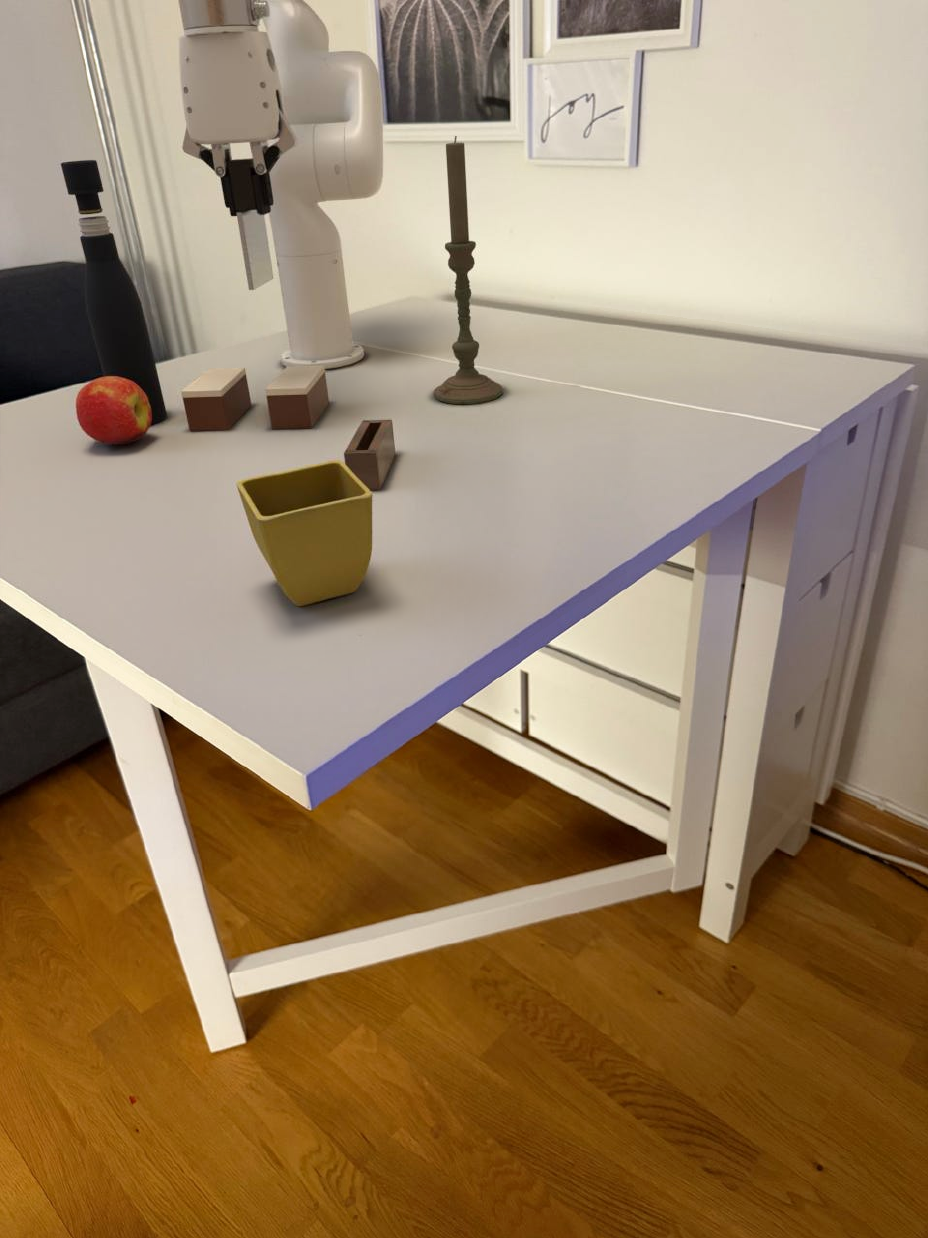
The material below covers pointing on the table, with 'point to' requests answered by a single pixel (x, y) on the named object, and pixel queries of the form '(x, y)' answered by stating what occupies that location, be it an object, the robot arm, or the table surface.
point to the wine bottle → (112, 293)
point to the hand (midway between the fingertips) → (250, 212)
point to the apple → (113, 410)
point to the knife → (250, 224)
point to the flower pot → (311, 529)
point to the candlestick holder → (462, 293)
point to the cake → (216, 399)
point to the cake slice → (297, 397)
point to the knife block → (371, 452)
